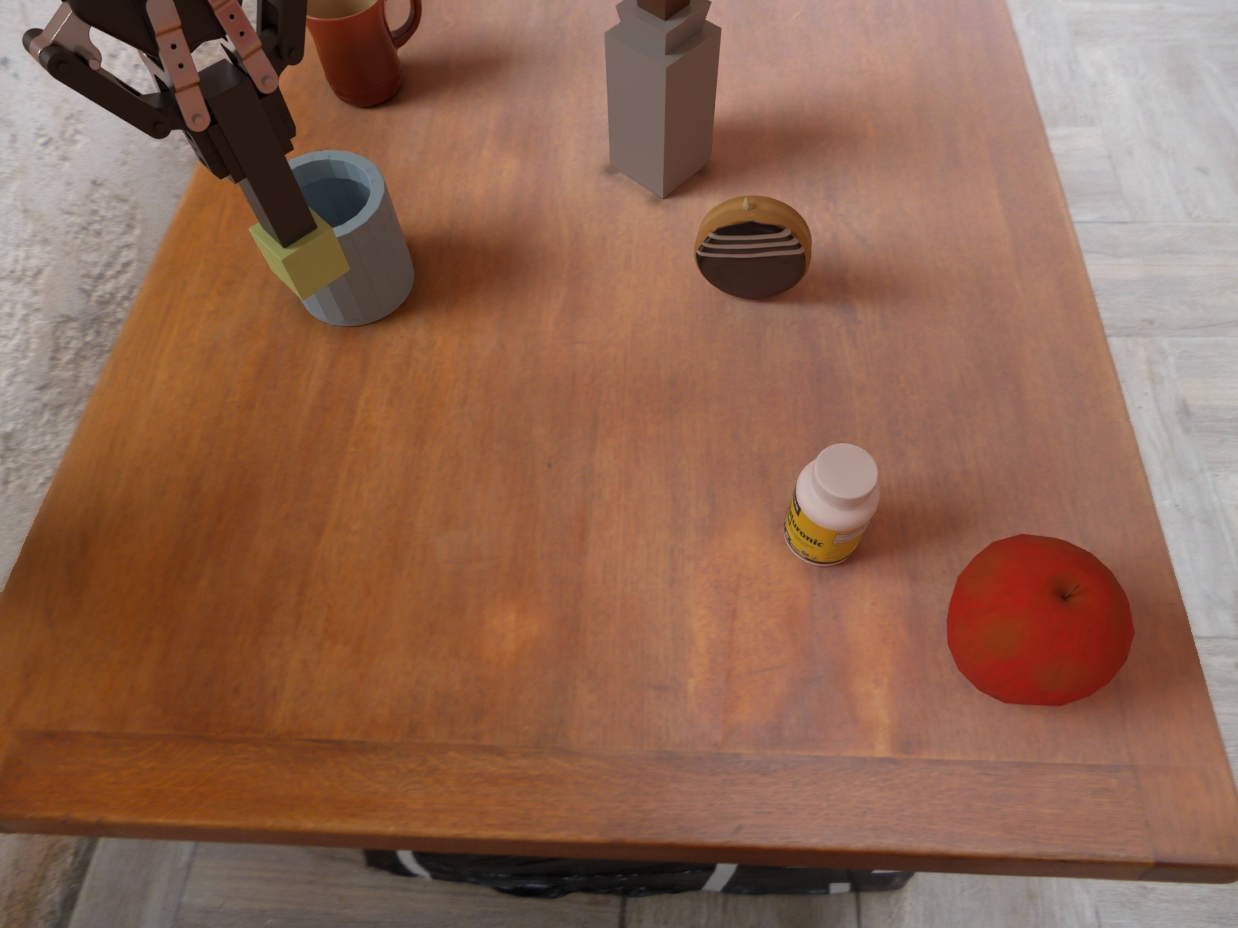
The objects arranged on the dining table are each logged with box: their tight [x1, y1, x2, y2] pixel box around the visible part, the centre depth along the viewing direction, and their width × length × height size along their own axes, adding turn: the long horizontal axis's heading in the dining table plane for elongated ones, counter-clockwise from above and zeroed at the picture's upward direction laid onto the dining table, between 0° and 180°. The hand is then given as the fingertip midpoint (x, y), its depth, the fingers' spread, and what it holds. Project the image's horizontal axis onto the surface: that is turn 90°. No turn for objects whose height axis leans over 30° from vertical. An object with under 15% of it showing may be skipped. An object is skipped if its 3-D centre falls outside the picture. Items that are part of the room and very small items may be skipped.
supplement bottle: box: [782, 442, 880, 567], centre depth 57 cm, size 5×5×10 cm
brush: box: [197, 57, 350, 301], centre depth 48 cm, size 4×4×14 cm
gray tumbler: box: [287, 149, 416, 327], centre depth 70 cm, size 10×10×10 cm
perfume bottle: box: [603, 0, 723, 199], centre depth 73 cm, size 7×7×18 cm
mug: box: [306, 0, 423, 108], centre depth 83 cm, size 12×9×10 cm
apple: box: [946, 533, 1136, 707], centre depth 52 cm, size 10×10×12 cm
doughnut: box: [693, 195, 813, 300], centre depth 69 cm, size 9×4×10 cm, turn 79°
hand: (255, 159), depth 46 cm, fingers closed on brush, 2 cm apart
